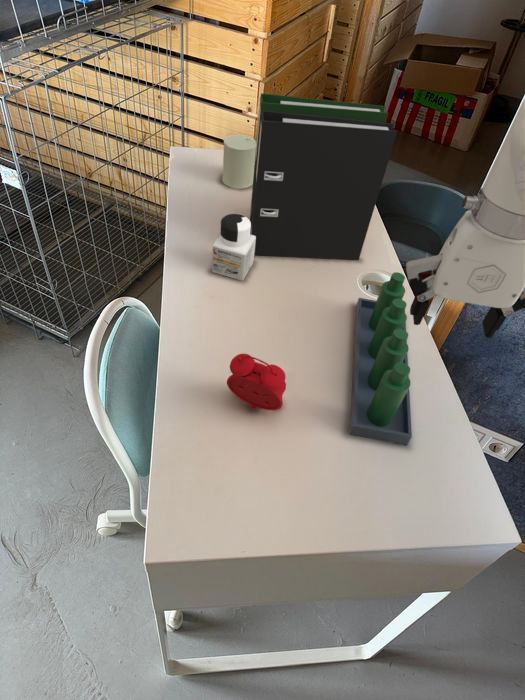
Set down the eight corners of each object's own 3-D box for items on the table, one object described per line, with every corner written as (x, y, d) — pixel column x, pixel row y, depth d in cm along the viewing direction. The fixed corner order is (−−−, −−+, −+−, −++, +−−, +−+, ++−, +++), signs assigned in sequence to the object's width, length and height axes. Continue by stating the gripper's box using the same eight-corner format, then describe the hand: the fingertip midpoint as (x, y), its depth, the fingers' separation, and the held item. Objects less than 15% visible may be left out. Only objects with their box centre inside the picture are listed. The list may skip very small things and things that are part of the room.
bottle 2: (390, 362, 96) (412, 313, 86) (367, 358, 96) (387, 309, 87) (390, 346, 99) (411, 297, 89) (368, 342, 100) (387, 292, 90)
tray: (406, 445, 84) (412, 437, 82) (349, 434, 85) (353, 425, 83) (400, 315, 107) (404, 305, 105) (355, 306, 108) (358, 297, 106)
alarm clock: (287, 404, 88) (299, 349, 77) (274, 430, 84) (285, 376, 73) (236, 383, 90) (241, 327, 79) (221, 407, 86) (224, 352, 75)
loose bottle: (392, 429, 85) (417, 381, 76) (366, 424, 86) (388, 376, 76) (391, 408, 89) (415, 360, 79) (366, 403, 89) (388, 355, 79)
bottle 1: (390, 335, 102) (410, 285, 92) (368, 331, 102) (386, 281, 92) (389, 320, 105) (409, 271, 95) (368, 316, 105) (386, 267, 95)
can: (259, 184, 140) (263, 143, 131) (233, 191, 136) (236, 150, 127) (241, 170, 145) (244, 130, 136) (215, 177, 141) (216, 136, 132)
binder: (350, 229, 129) (384, 104, 105) (359, 264, 119) (398, 134, 95) (249, 222, 126) (260, 93, 103) (249, 257, 116) (262, 122, 93)
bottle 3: (391, 394, 91) (414, 345, 81) (367, 389, 91) (387, 340, 81) (390, 375, 94) (413, 326, 84) (367, 371, 94) (387, 322, 84)
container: (211, 272, 111) (212, 224, 102) (223, 254, 116) (226, 206, 107) (242, 281, 110) (247, 233, 100) (253, 262, 115) (258, 215, 106)
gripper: (434, 218, 51) (388, 332, 64) (598, 245, 50) (519, 355, 63) (429, 184, 56) (387, 296, 69) (577, 209, 56) (508, 317, 68)
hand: (450, 324), depth 66 cm, fingers open, 9 cm apart
